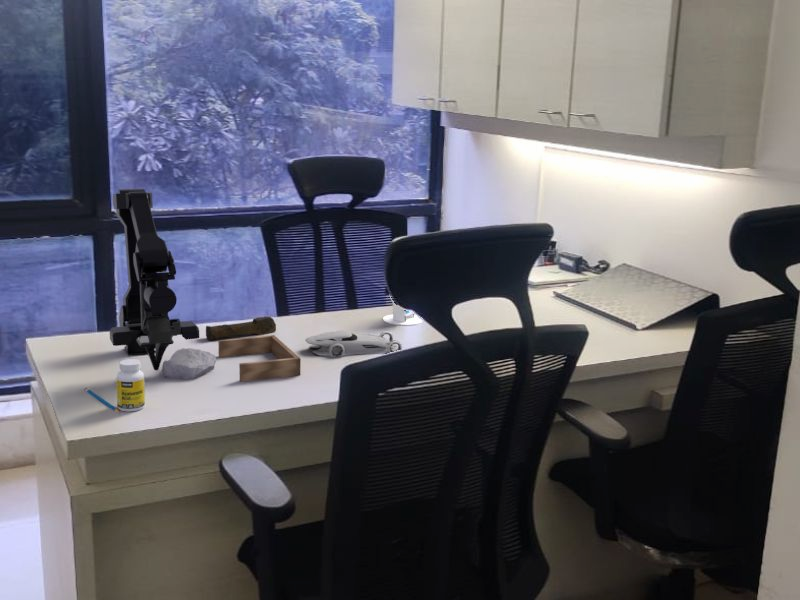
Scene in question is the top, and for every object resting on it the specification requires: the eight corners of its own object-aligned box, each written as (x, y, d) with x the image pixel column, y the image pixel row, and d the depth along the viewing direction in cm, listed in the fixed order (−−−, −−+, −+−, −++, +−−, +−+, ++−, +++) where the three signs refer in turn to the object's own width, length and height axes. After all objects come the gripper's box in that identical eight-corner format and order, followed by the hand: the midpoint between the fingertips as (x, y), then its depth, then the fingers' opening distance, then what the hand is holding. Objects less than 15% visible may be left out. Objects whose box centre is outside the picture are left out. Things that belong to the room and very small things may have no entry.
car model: (405, 355, 226) (405, 336, 225) (309, 359, 219) (309, 340, 218) (393, 342, 236) (394, 324, 235) (301, 346, 230) (302, 327, 228)
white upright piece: (411, 328, 249) (413, 275, 245) (375, 322, 253) (376, 270, 250) (429, 318, 259) (431, 267, 256) (393, 313, 264) (395, 263, 260)
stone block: (217, 372, 213) (177, 361, 213) (221, 353, 211) (181, 342, 212) (200, 390, 201) (158, 378, 202) (203, 371, 200) (161, 359, 201)
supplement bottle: (119, 413, 180) (117, 367, 178) (116, 404, 185) (113, 359, 182) (147, 410, 182) (145, 364, 180) (143, 401, 187) (141, 356, 184)
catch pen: (240, 381, 201) (240, 364, 200) (218, 356, 218) (218, 340, 217) (300, 375, 207) (300, 358, 206) (274, 350, 224) (274, 335, 223)
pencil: (87, 390, 193) (87, 387, 193) (121, 414, 181) (121, 410, 180) (83, 391, 192) (83, 388, 192) (117, 414, 180) (117, 411, 180)
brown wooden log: (209, 343, 229) (209, 325, 228) (204, 338, 233) (204, 321, 232) (279, 335, 238) (279, 318, 237) (273, 331, 242) (274, 315, 241)
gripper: (115, 314, 188) (118, 385, 191) (204, 308, 195) (205, 376, 199) (107, 302, 197) (110, 369, 201) (193, 296, 205) (194, 361, 209)
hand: (156, 369), depth 202 cm, fingers closed
